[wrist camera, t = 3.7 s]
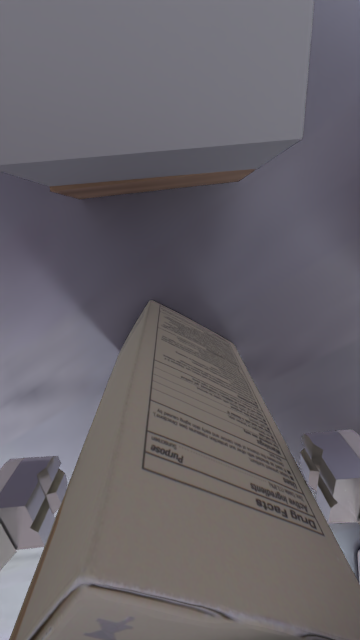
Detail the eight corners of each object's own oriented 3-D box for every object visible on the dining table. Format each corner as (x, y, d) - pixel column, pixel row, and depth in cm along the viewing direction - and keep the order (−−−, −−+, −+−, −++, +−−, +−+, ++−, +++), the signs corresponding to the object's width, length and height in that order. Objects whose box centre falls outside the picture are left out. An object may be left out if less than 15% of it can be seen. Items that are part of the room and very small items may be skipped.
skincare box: (117, 353, 16) (-41, 701, 4) (150, 295, 14) (49, 576, 3) (203, 395, 17) (260, 752, 5) (240, 346, 16) (418, 680, 4)
